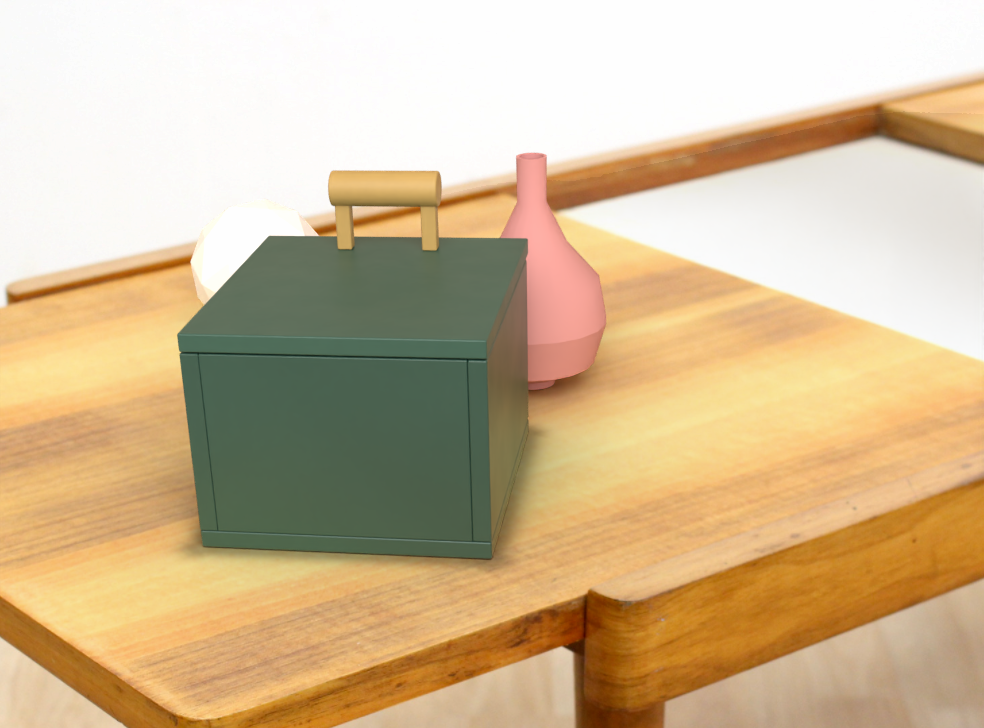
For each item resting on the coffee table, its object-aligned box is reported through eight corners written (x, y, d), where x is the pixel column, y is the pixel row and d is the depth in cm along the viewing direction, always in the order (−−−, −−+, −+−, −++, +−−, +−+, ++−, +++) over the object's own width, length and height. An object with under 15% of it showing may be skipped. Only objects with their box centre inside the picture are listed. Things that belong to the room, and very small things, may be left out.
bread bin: (281, 424, 79) (266, 255, 75) (528, 432, 77) (526, 259, 73) (201, 547, 67) (178, 353, 63) (492, 559, 65) (487, 361, 61)
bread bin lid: (269, 251, 75) (261, 160, 73) (528, 254, 73) (527, 160, 71) (178, 352, 63) (165, 246, 61) (487, 359, 61) (484, 250, 59)
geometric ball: (271, 385, 91) (223, 308, 84) (197, 311, 95) (145, 230, 88) (369, 304, 92) (329, 220, 85) (291, 233, 96) (247, 148, 89)
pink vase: (575, 417, 78) (575, 180, 73) (438, 398, 81) (429, 168, 76) (625, 366, 84) (629, 143, 79) (496, 350, 87) (491, 134, 82)
